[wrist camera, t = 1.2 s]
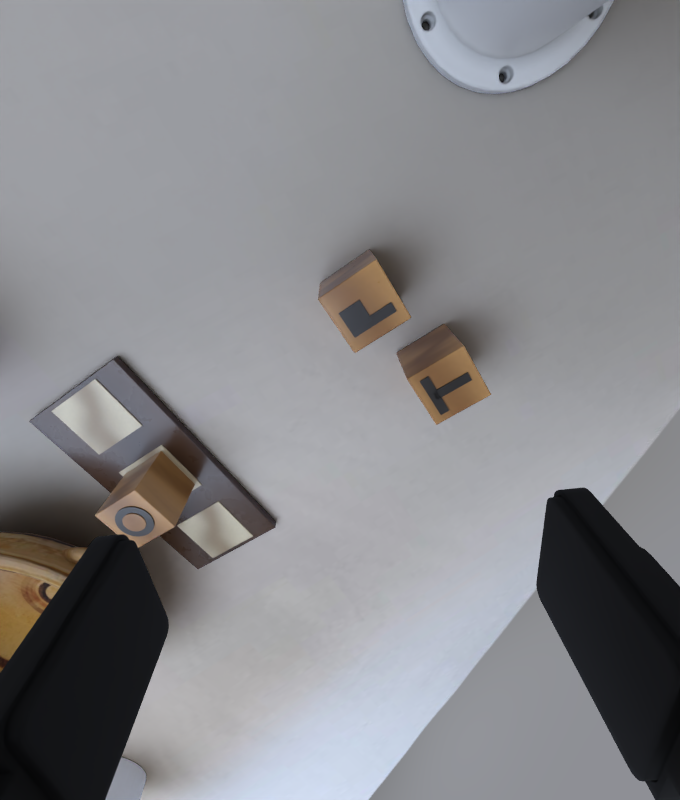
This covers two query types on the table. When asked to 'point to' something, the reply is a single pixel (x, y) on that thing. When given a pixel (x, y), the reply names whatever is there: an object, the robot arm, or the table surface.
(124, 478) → the tile
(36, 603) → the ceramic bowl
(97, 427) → the word board
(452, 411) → the tile
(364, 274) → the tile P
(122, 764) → the bottle
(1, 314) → the table surface
